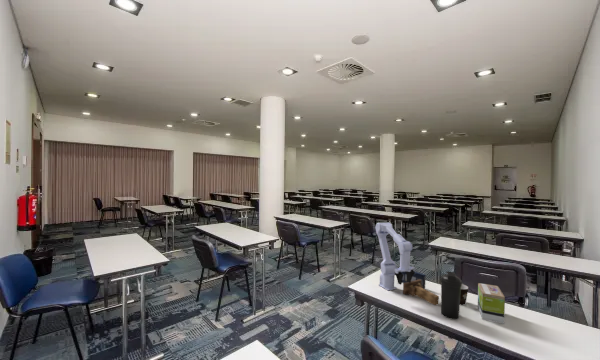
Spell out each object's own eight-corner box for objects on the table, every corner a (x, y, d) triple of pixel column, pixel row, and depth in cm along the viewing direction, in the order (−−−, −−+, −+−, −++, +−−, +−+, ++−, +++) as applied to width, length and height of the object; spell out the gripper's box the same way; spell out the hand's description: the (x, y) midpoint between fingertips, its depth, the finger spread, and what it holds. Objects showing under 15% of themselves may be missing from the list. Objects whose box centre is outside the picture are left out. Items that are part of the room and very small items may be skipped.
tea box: (476, 306, 154) (477, 282, 153) (497, 311, 149) (498, 285, 149) (481, 319, 140) (482, 292, 140) (504, 324, 136) (505, 296, 135)
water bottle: (459, 312, 146) (460, 272, 146) (461, 322, 137) (463, 279, 137) (438, 308, 151) (440, 269, 150) (440, 317, 141) (441, 275, 141)
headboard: (403, 293, 169) (403, 283, 168) (419, 289, 175) (419, 279, 175) (409, 297, 164) (409, 286, 164) (425, 292, 171) (426, 282, 170)
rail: (412, 293, 169) (413, 286, 169) (416, 292, 170) (416, 285, 170) (435, 305, 154) (435, 297, 154) (438, 304, 156) (438, 296, 156)
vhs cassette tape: (397, 281, 188) (398, 267, 188) (399, 280, 190) (399, 266, 190) (423, 290, 175) (424, 275, 174) (425, 288, 177) (425, 274, 176)
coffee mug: (463, 299, 163) (463, 283, 162) (470, 306, 154) (471, 289, 154) (443, 298, 164) (444, 282, 163) (450, 305, 155) (450, 288, 155)
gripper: (401, 264, 154) (400, 287, 155) (418, 261, 161) (417, 283, 161) (392, 261, 161) (391, 282, 161) (409, 258, 167) (408, 279, 167)
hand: (404, 283), depth 161 cm, fingers open, 7 cm apart
